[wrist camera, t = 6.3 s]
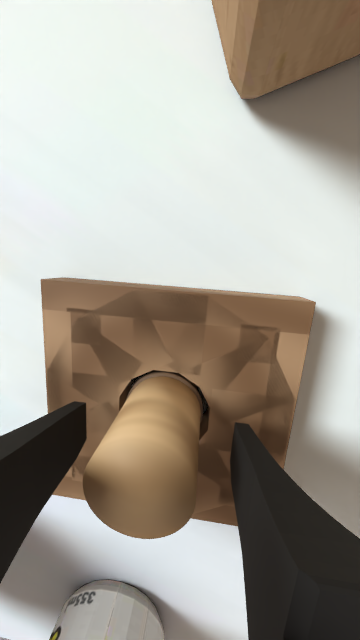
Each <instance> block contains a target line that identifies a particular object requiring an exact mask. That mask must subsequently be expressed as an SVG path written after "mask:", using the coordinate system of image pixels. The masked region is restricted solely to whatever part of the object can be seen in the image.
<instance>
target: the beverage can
mask: <svg viewBox="0 0 360 640" xmlns="http://www.w3.org/2000/svg"><path fill="white" fill-rule="evenodd" d="M49 640H164V629H163V625H162V623H161V620H160V618H159V615H158V613H157V610H156V608H155V605H154V604H153V603H152V602H151V601H150V599H149V598H148V597H147V596H146V595H145V594H143V593H142V592H141V591H139V590H138V589H136V588H135V587H133V586H130V585H128V584H125V583H123V582H119V581H113V580H98V581H93V582H91V583H88V584H86V585H84V586H83V587H81V588H80V589H78V590H77V591H76V592H75V593H74V594H73V595H72V596H71V597H70V598H69V599H68V600H67V601H66V603H65V604H64V606H63V609H62V611H61V613H60V616H59V618H58V620H57V623H56V625H55V627H54V630H53V632H52V634H51V637H50V639H49Z"/></svg>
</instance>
